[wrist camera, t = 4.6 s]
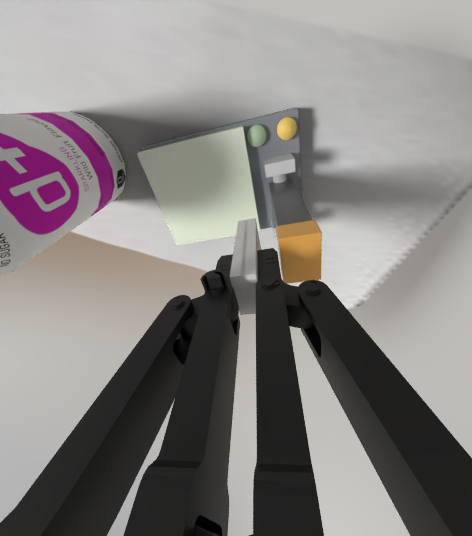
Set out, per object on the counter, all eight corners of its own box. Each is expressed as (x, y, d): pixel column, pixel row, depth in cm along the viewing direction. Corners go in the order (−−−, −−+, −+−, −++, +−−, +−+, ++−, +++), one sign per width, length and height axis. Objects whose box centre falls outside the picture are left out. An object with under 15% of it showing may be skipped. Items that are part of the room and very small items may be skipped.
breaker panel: (146, 145, 21) (127, 153, 18) (294, 107, 19) (303, 108, 16) (182, 236, 27) (173, 254, 24) (300, 216, 24) (307, 233, 21)
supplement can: (103, 102, 19) (-140, 102, 7) (142, 195, 24) (33, 287, 12) (24, 119, 20) (-297, 144, 8) (76, 205, 25) (-81, 297, 13)
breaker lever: (266, 173, 20) (277, 228, 11) (290, 168, 20) (321, 221, 11) (272, 217, 23) (284, 290, 14) (293, 213, 22) (320, 286, 14)
